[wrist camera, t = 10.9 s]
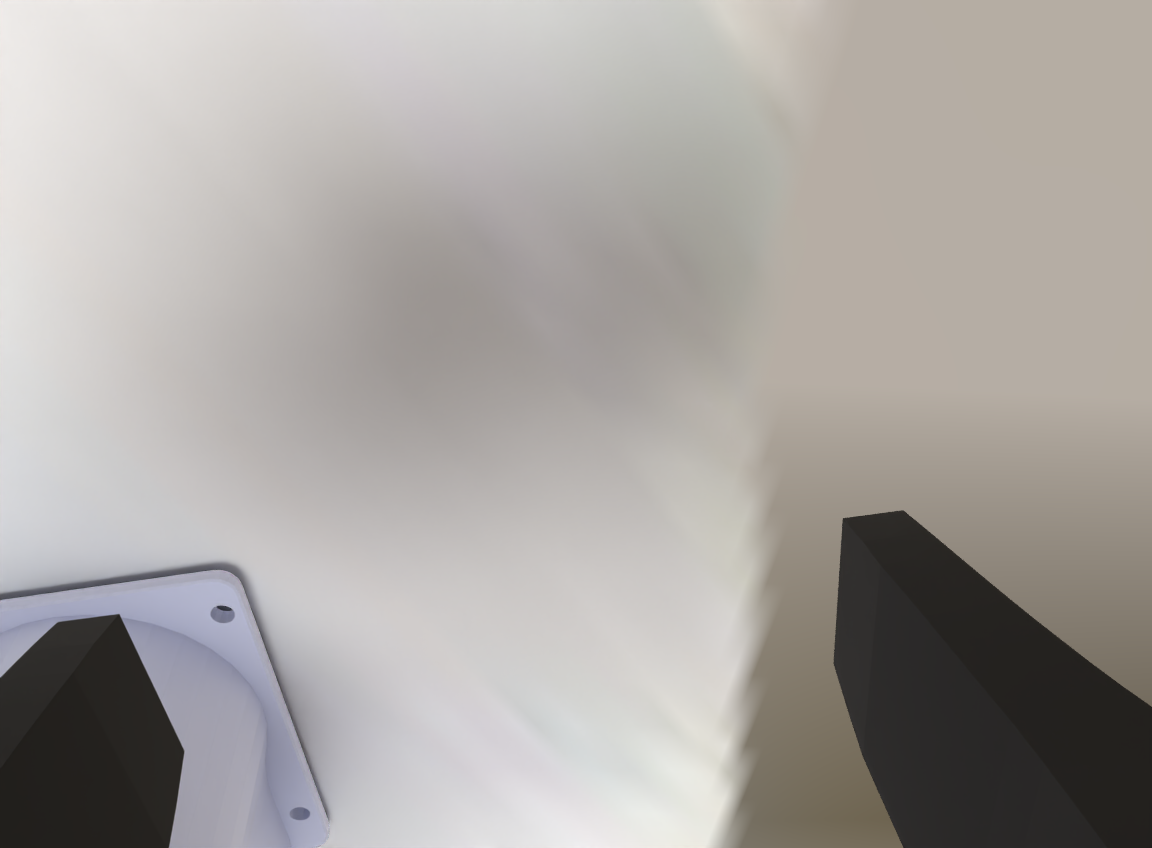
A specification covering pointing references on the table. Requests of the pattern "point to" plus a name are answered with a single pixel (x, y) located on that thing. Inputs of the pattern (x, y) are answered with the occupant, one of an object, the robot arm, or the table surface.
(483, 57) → the table surface
